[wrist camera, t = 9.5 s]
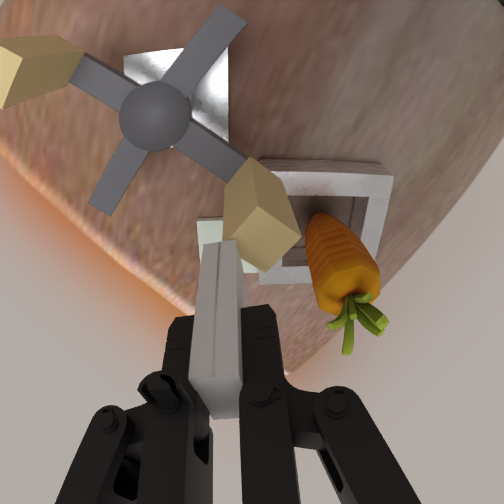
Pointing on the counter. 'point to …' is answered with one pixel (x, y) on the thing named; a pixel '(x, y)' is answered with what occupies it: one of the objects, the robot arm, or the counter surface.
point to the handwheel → (162, 128)
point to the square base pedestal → (203, 95)
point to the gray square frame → (331, 184)
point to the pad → (215, 237)
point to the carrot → (343, 277)
